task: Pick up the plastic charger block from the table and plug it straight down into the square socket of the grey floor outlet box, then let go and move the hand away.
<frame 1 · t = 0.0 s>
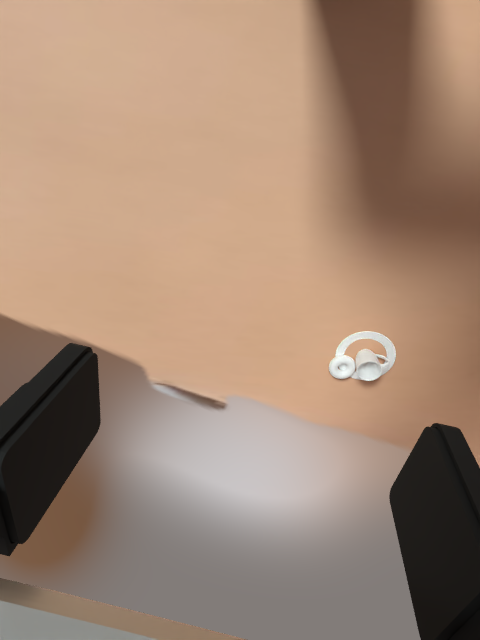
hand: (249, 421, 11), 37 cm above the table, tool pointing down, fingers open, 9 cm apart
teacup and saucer: (347, 341, 51), on the table
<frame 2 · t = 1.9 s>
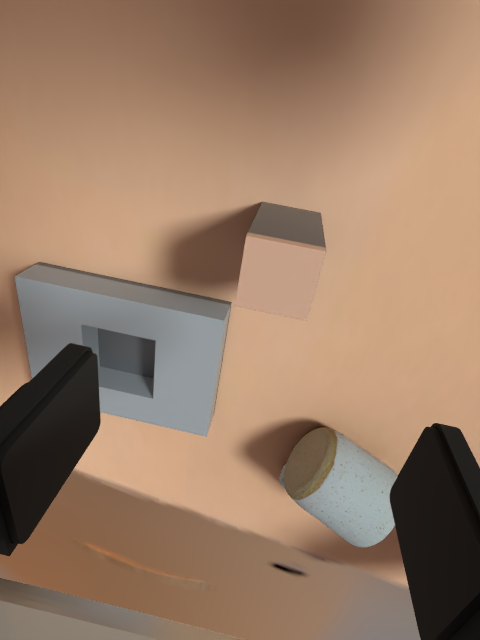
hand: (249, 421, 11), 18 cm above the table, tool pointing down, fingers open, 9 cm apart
charger: (285, 235, 26), on the table
ceramic mug: (328, 456, 36), on the table
outlet box: (133, 343, 33), on the table
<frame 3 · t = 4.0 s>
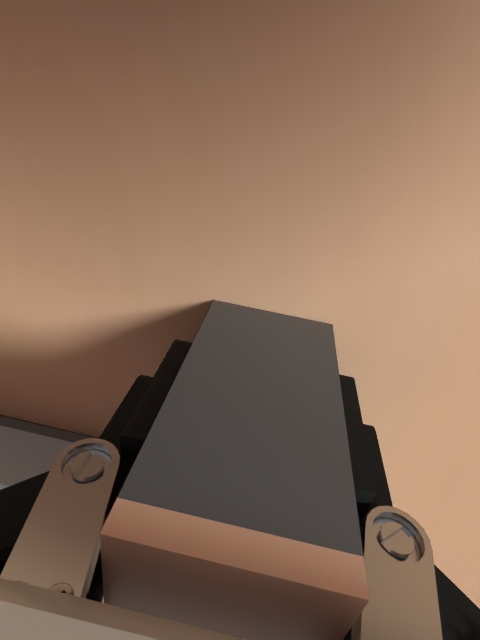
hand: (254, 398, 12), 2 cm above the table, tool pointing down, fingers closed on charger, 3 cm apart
charger: (261, 360, 13), on the table, touching gripper
outlet box: (17, 497, 20), on the table
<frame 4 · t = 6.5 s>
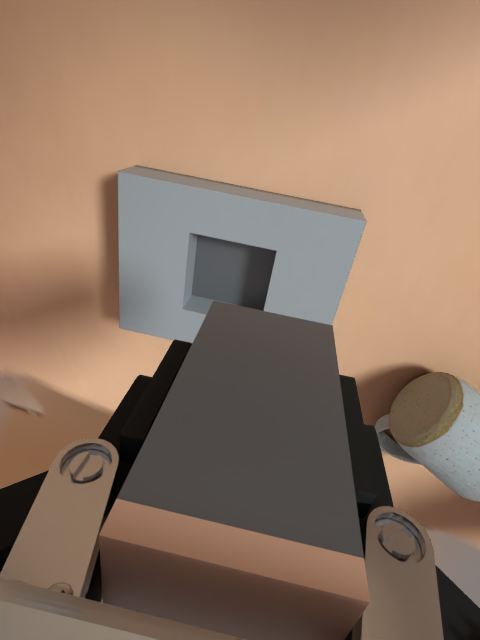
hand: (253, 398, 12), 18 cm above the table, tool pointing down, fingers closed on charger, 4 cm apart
charger: (261, 361, 13), point 16 cm above the table, touching gripper
ceramic mug: (428, 409, 33), on the table
outlet box: (233, 266, 29), on the table
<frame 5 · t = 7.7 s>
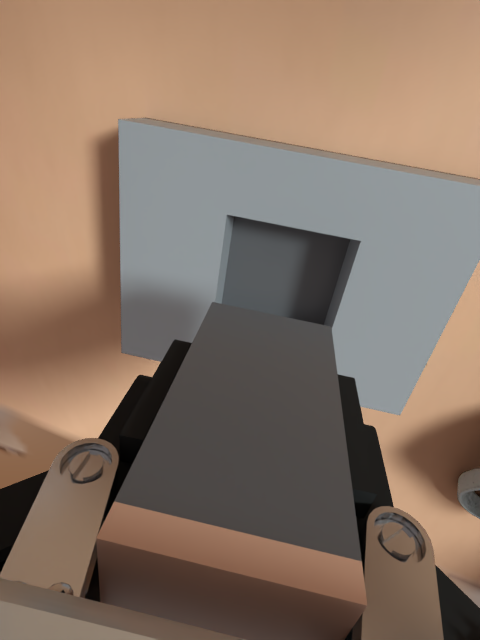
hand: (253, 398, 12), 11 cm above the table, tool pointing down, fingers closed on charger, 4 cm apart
charger: (260, 362, 13), point 9 cm above the table, touching gripper
outlet box: (282, 265, 21), on the table
when the fingers open (4 cm above the table, at t = 9.0 s): charger drops 2 cm, resting on outlet box.
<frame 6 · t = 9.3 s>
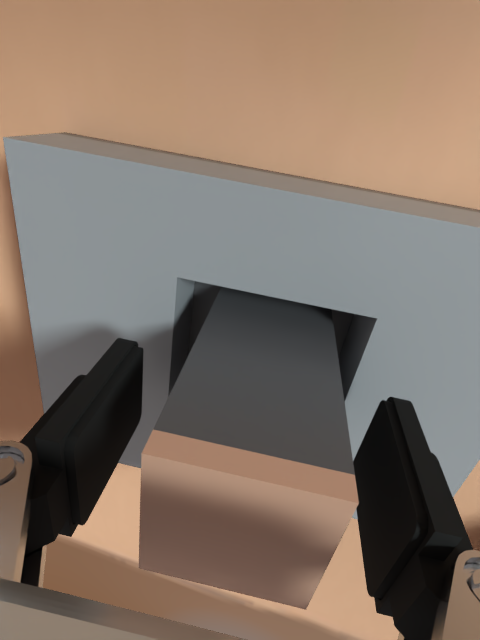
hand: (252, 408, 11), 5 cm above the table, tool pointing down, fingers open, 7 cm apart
charger: (266, 338, 15), resting on outlet box
outlet box: (265, 331, 15), on the table
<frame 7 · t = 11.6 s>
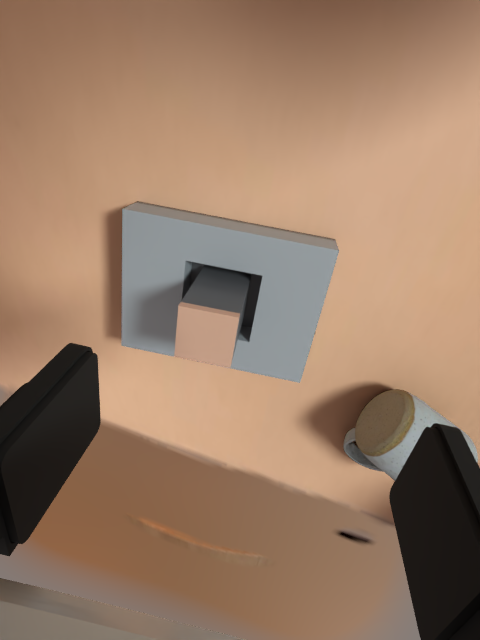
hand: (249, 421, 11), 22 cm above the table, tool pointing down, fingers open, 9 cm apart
charger: (224, 291, 32), resting on outlet box
ceramic mug: (391, 422, 37), on the table
outlet box: (224, 288, 32), on the table
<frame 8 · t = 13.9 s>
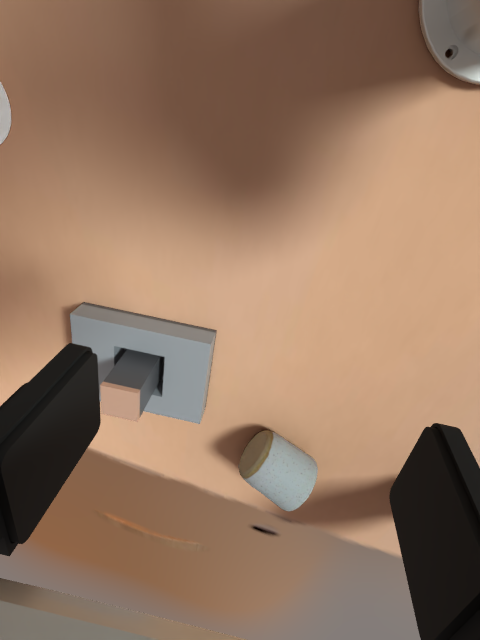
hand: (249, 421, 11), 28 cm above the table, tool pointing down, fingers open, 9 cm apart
charger: (147, 360, 46), resting on outlet box
ceramic mug: (273, 450, 51), on the table
outlet box: (147, 357, 46), on the table
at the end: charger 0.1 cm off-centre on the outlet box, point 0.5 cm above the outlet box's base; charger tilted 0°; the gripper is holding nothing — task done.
